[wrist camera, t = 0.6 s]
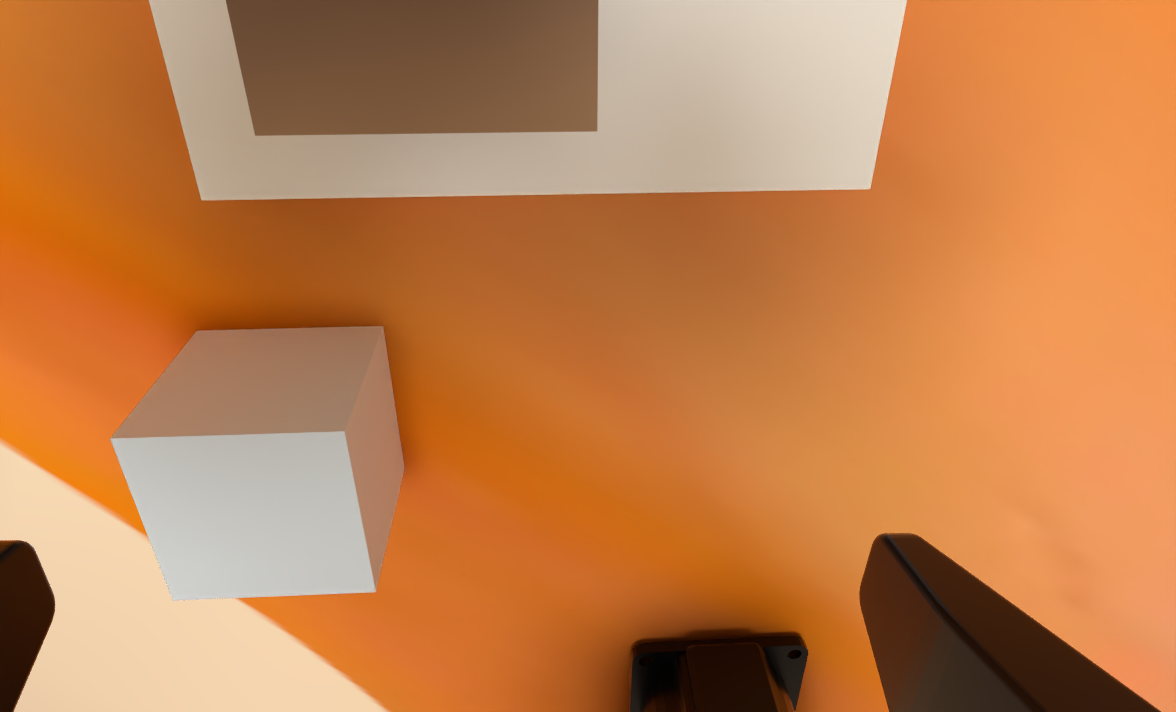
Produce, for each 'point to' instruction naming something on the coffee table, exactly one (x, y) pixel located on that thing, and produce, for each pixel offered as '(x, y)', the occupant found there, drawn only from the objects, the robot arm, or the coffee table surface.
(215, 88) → the plate
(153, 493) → the top block
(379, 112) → the base block
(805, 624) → the coffee table surface
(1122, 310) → the coffee table surface
